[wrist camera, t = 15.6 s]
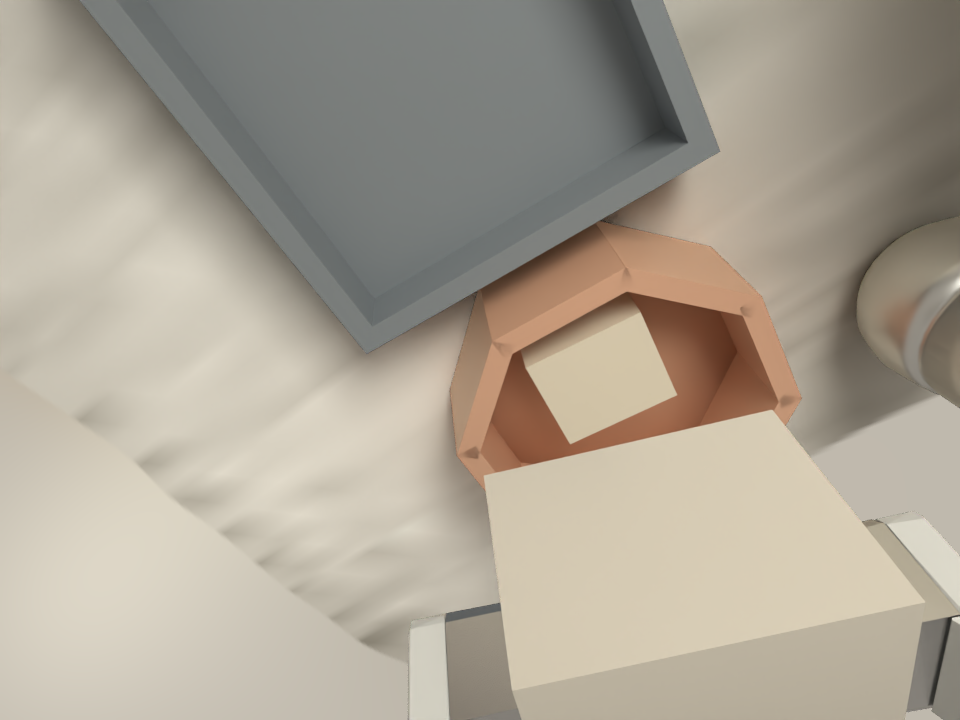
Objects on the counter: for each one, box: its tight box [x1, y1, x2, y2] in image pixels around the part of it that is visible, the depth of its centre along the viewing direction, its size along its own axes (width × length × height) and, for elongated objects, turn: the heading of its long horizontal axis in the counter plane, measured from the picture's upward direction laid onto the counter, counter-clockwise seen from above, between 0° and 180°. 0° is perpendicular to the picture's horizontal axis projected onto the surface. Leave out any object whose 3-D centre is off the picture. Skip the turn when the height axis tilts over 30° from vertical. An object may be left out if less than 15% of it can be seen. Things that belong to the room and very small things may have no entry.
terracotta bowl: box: [450, 221, 802, 492], centre depth 27 cm, size 12×12×4 cm
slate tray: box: [79, 0, 720, 354], centre depth 20 cm, size 16×14×3 cm
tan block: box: [520, 292, 677, 444], centre depth 26 cm, size 4×4×3 cm
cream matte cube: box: [484, 410, 926, 720], centre depth 9 cm, size 4×4×3 cm
